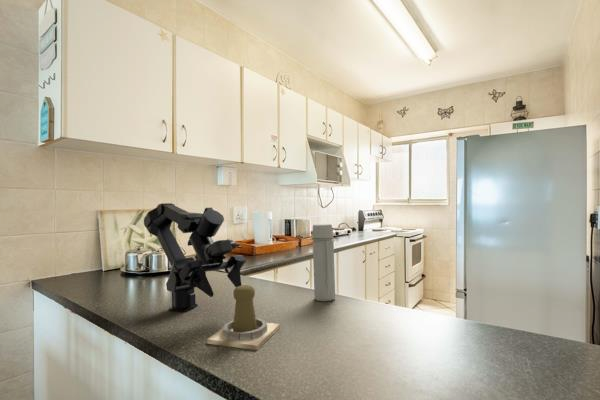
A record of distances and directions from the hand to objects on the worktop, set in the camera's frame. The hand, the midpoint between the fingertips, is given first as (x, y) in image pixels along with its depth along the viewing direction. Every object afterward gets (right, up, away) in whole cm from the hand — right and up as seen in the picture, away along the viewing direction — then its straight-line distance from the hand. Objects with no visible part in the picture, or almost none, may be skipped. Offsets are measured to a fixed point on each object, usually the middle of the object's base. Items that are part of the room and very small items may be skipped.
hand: (227, 292), depth 83 cm
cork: (+6, -8, -7) cm, 12 cm away
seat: (+6, -8, -7) cm, 12 cm away
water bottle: (+28, -9, +21) cm, 36 cm away
